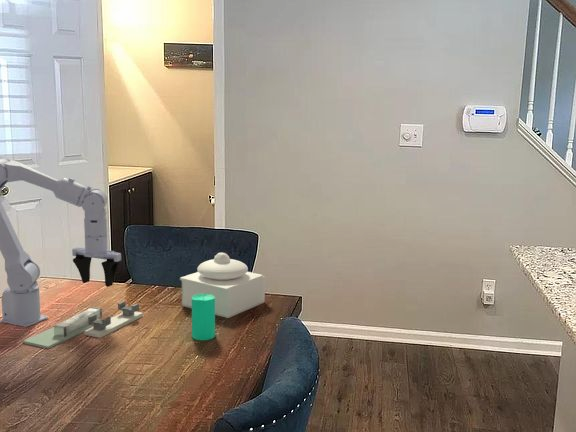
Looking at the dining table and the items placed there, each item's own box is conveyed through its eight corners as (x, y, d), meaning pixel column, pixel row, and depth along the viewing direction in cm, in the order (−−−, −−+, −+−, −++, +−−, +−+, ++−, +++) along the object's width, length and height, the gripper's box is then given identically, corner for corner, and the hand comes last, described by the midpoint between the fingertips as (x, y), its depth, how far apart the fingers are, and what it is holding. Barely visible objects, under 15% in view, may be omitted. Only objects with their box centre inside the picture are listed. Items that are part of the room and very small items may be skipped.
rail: (53, 335, 159) (53, 325, 159) (92, 315, 174) (92, 306, 174) (64, 337, 158) (63, 327, 158) (102, 317, 173) (102, 308, 173)
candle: (210, 341, 160) (210, 295, 158) (188, 339, 161) (188, 293, 159) (218, 332, 166) (218, 288, 163) (196, 330, 167) (196, 286, 164)
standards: (83, 334, 162) (83, 319, 161) (127, 313, 178) (127, 299, 178) (100, 338, 160) (99, 322, 159) (143, 316, 176) (142, 301, 176)
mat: (22, 343, 156) (22, 340, 156) (68, 322, 170) (68, 320, 170) (48, 348, 153) (48, 346, 153) (92, 327, 167) (92, 325, 167)
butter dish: (264, 302, 191) (265, 251, 188) (226, 319, 176) (226, 264, 173) (219, 291, 201) (219, 243, 198) (180, 306, 186) (179, 254, 183)
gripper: (63, 235, 168) (65, 284, 171) (109, 240, 163) (110, 291, 166) (81, 230, 175) (83, 277, 177) (125, 235, 170) (126, 284, 172)
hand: (97, 283), depth 172 cm, fingers open, 7 cm apart
